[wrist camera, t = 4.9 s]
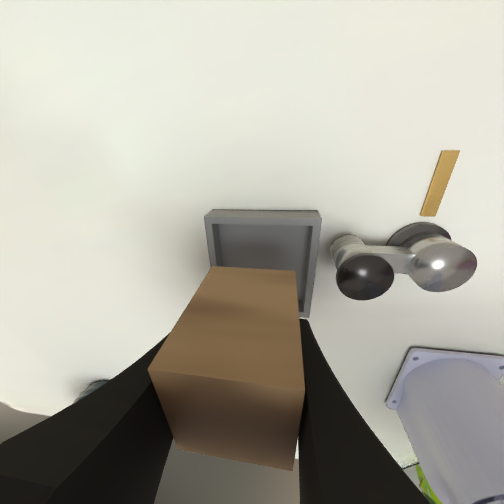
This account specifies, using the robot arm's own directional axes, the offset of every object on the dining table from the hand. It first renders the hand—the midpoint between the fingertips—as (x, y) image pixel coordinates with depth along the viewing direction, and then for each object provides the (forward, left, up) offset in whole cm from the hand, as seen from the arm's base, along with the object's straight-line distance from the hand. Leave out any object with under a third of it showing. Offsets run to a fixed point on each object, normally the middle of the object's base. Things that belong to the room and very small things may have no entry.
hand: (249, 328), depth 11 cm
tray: (0, 0, -8) cm, 8 cm away
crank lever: (+2, -9, -7) cm, 11 cm away
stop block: (0, 0, -2) cm, 2 cm away
